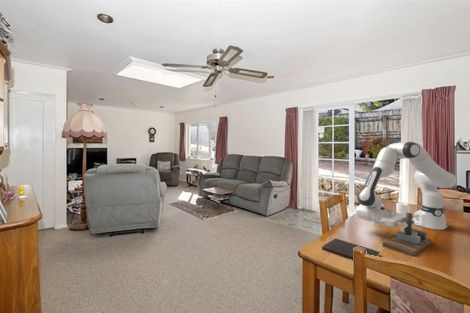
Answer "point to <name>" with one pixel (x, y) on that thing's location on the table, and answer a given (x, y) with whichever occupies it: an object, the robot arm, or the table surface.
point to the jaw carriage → (408, 232)
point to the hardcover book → (345, 248)
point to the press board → (408, 244)
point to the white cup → (402, 208)
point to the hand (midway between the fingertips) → (410, 223)
